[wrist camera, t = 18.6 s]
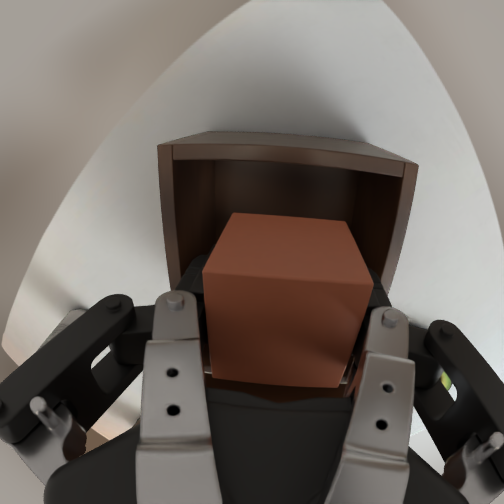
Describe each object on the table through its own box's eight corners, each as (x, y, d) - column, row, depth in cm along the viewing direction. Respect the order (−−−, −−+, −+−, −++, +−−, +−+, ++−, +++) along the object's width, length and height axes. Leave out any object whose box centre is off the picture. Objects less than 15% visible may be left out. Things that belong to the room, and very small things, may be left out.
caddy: (207, 131, 21) (156, 144, 13) (369, 143, 20) (419, 164, 11) (212, 297, 28) (184, 368, 20) (339, 308, 27) (353, 383, 19)
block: (232, 211, 12) (201, 269, 7) (345, 220, 11) (374, 283, 7) (233, 303, 14) (211, 378, 10) (328, 311, 13) (338, 388, 9)
